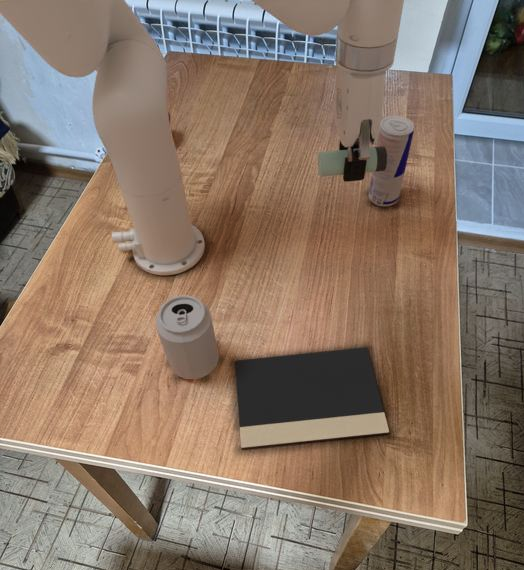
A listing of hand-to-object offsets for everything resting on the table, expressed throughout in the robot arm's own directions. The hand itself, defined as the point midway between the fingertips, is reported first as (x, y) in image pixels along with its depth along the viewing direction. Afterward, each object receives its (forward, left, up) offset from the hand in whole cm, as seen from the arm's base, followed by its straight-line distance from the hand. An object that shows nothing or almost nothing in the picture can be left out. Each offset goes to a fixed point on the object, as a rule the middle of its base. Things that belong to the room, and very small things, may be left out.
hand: (350, 169), depth 80 cm
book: (-11, -32, -13) cm, 36 cm away
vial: (0, 0, 0) cm, 0 cm away
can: (-27, -24, -13) cm, 38 cm away
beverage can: (+9, +8, -13) cm, 18 cm away
